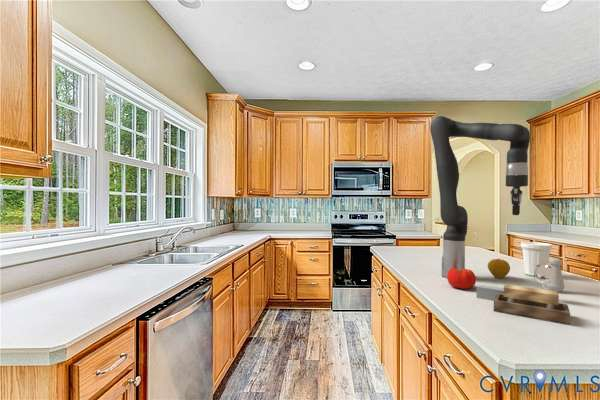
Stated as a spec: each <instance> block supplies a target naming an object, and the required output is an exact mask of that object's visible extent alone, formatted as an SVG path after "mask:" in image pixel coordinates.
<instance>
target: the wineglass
mask: <svg viewBox="0 0 600 400" xmlns="http://www.w3.org/2000/svg"><path fill="white" fill-rule="evenodd" d="M533 278H534V279H535V282H537V283H540V284H541V285H542V286H541V289H542V290H546V284H549V283H551V282H553V280H554V273H553V268H552V267H551V266H550V265H548V266H545V265H536V267H535V271H534V277H533Z"/></svg>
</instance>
